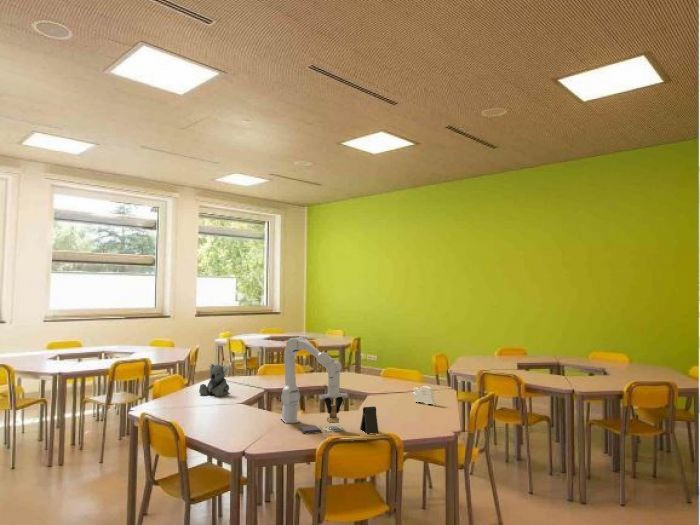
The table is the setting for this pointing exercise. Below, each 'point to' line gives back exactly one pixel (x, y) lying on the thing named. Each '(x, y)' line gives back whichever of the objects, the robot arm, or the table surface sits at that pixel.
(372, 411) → the phone stand
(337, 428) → the desk mat
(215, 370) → the koala plush
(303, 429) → the ink pad
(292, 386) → the robot arm
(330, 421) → the stamp
